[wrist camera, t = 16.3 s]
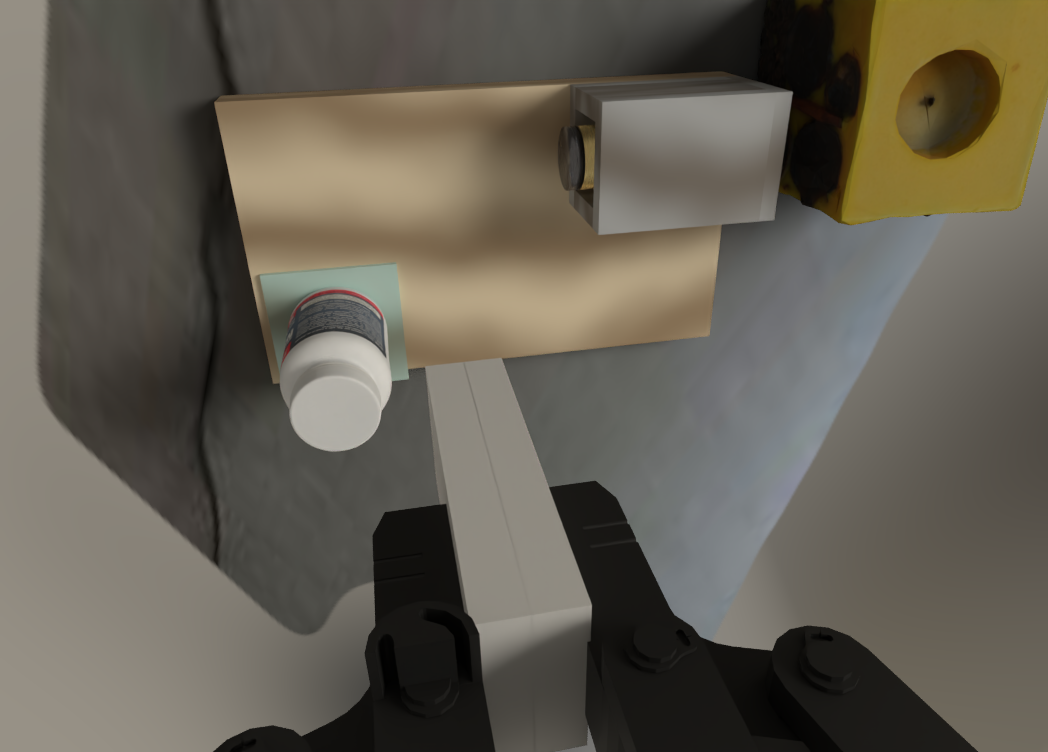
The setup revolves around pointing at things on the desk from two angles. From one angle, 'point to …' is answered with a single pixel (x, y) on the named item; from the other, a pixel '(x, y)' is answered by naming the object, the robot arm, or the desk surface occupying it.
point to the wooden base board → (502, 207)
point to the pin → (576, 157)
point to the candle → (908, 103)
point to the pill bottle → (336, 368)
